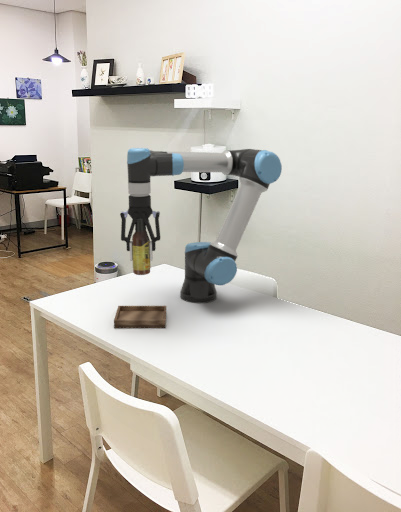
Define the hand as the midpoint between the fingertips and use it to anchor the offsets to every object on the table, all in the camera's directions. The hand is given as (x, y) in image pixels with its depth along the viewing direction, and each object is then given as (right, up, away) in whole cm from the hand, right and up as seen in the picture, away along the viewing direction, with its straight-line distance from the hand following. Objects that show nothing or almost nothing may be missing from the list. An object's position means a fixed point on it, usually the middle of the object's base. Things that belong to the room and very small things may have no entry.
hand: (141, 259), depth 173 cm
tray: (-1, -22, +6) cm, 23 cm away
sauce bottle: (0, -5, +1) cm, 5 cm away
